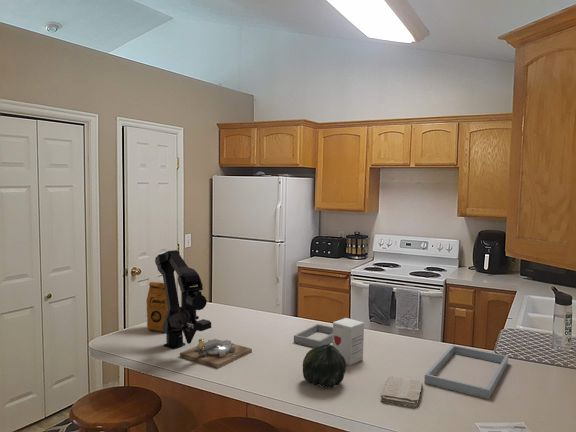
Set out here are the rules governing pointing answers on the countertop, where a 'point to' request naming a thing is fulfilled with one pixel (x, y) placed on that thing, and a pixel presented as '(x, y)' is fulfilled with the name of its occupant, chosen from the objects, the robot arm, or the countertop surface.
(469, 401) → the countertop surface
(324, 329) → the grey frame
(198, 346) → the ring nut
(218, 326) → the countertop surface
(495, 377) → the slate carton frame
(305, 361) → the squash
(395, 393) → the washcloth
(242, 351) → the walnut base
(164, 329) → the robot arm
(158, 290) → the coffee package
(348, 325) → the supplement box
